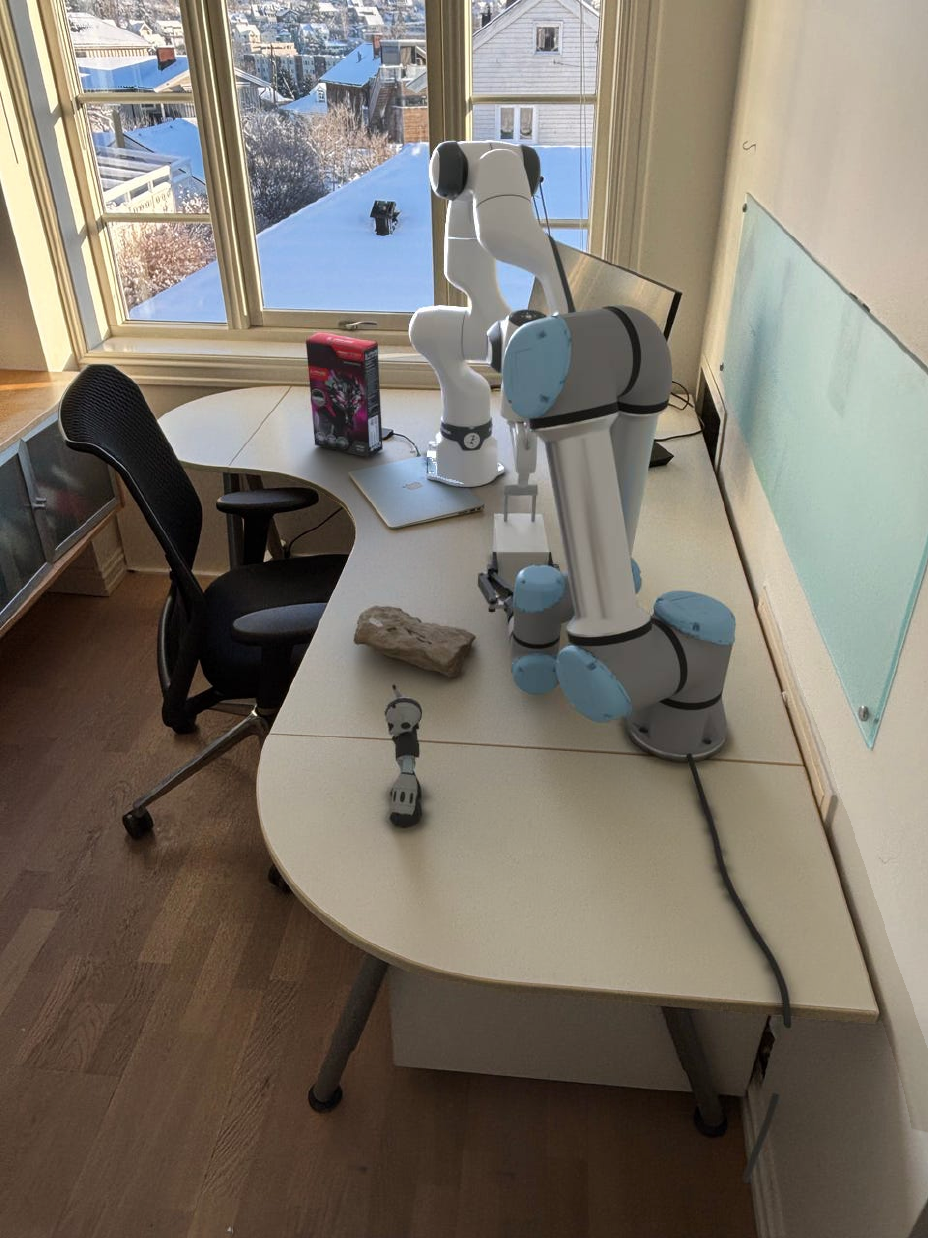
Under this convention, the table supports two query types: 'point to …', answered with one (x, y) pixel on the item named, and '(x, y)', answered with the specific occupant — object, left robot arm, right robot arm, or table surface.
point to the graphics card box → (345, 393)
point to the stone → (413, 639)
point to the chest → (515, 564)
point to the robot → (405, 758)
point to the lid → (520, 527)
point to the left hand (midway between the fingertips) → (521, 475)
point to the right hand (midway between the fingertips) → (521, 558)
